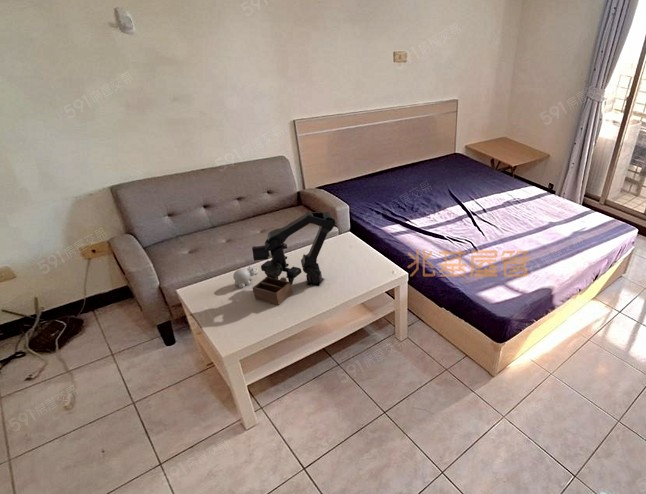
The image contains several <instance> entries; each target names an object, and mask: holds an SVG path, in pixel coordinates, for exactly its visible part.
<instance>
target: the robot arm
mask: <svg viewBox="0 0 646 494" xmlns="http://www.w3.org/2000/svg"><path fill="white" fill-rule="evenodd" d="M310 224H312V225H315V226H318V230H317V233H316V235H315V237H314V239H313V242H312V244H311V247H310V248H309V251H308V253H307V254H305V253H304V254H302V258H301V259H300V263H301V267H302V269H301V268H300V267H298V266H292V267H291V268H290V267H289V266H290V264H289V263H287V259H288V256H286V255H285V254H286V253H285V250H286V249H288V244H287V243H285V242H286V240H287V239H288V238H289V237H291V236H292V235H294V234H295V233H296V232H298V231H300V230H301V229H303V228H304V227H306V226H308V225H310ZM335 225H336V220H335V217H334V215H333V213H331V212H328V211H326V212H325V211H324V212H321V211H315V212H311V211H307V212H305V213H304V214H302V215H301V216H300V217H298V218H296V219H294V220H293V221H291V222H290V223H288V224H287V225H284V226H283V227H280V228H275V229H273V230H270V231H268V233H267V235H266V236H267V238H266V240H265V242H264V244H263V245H258V246H257V245H256V246H255V245H254V246H252V247H251V250H252V258H253V261H254V262H259V261H264V260H265V262H264V263H262V264H261V266H260V270H261V272H264V274H265V275H266V277H271V278H275V279H279V277H280V276H281V274H282V273H283V272H284V273H286V276H285V278H286V279H287V281H288V282H290V285H291V286H292V285H293V283H294V280H295V279H296V278H297V277H298V276H300V274H302V272H303V273H305V274H306V275H305V277H306V282H307V283H306V285H307V286H315V287H320V286H321V284H322V283H323V281H324V278H323V276H322V275H323V274H322V270H321V269H320V265H319V263H317V261H318V257H319V255H320V252H321V250H322V248H323V245H324V243H325V241H326V238H327V236H328V234H329V233H330V232H331V231H332V230H333V229H334V227H335ZM270 257H271V259H270V260H268V259H269V258H270Z"/></svg>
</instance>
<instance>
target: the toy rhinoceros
mask: <svg viewBox="0 0 646 494" xmlns="http://www.w3.org/2000/svg"><path fill="white" fill-rule="evenodd" d="M258 274H259V269H258V267H256V269H255V268H253V267H251V266H250V265H249V266H248V268H247V269H245V268H239V269H237V270H235V271H234V272H233V275H232V276H233V280H234V286H237V287H239V289H243V288H245V286H250V284H251V281H250V278H251V277H254V276H258Z"/></svg>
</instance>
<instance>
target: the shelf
mask: <svg viewBox="0 0 646 494" xmlns="http://www.w3.org/2000/svg"><path fill="white" fill-rule="evenodd" d="M252 292H253V295H254V299H255V300H257V301H261V302H265V303H267V304H268V303H269V304H273V305H276V306H280V305H281V304H283V303H284V301H286V300H287V299H288V298H289V297H290V296H292V294H293V290H292V285H290V282H289V281H288V278H286V276H281V278H278V279H275V278H271V277H267V276H265V277H264V278H263V279H261V280H260V281H259V282H258V283H256V284H255V285H254V286H252Z"/></svg>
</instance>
